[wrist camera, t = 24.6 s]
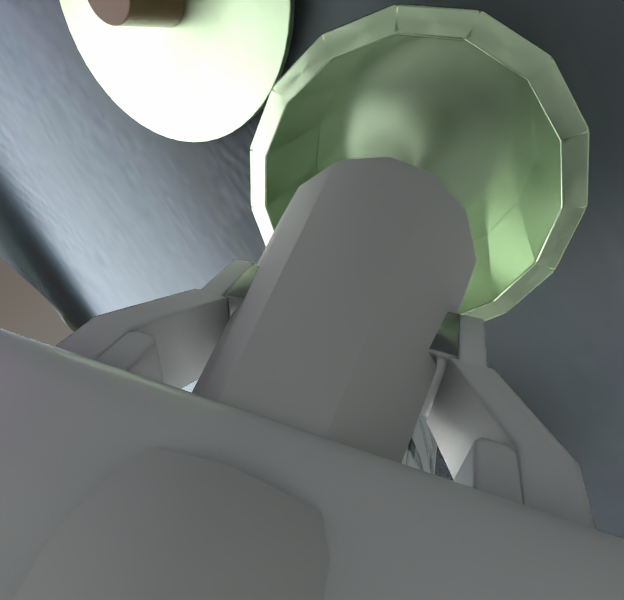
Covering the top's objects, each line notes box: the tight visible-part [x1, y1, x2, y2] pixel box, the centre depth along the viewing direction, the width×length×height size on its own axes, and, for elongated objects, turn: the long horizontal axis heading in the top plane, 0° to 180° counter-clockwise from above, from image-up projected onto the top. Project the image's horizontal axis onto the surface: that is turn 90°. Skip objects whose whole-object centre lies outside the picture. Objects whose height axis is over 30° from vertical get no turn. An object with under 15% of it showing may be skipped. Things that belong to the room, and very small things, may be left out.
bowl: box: [250, 4, 590, 321], centre depth 18 cm, size 13×13×8 cm
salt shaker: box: [13, 156, 477, 600], centre depth 8 cm, size 6×6×13 cm
